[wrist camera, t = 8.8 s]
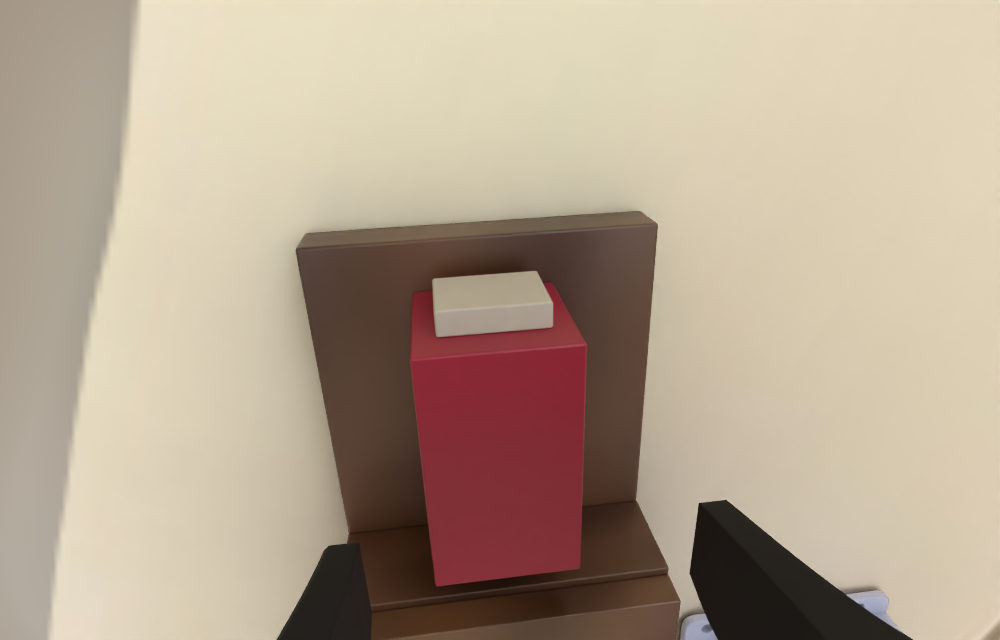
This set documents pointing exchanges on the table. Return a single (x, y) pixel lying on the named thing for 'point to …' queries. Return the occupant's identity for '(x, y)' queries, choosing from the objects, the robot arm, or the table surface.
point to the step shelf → (394, 435)
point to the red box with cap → (499, 425)
